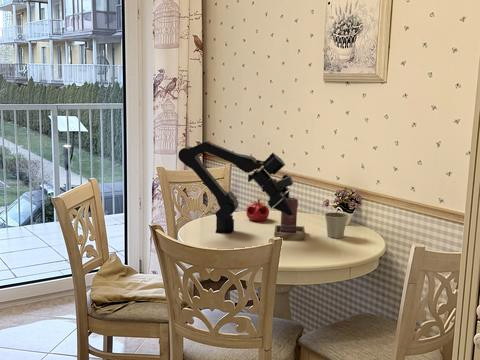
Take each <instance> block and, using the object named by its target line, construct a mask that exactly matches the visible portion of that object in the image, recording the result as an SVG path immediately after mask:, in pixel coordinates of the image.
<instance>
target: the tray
mask: <svg viewBox="0 0 480 360" xmlns="http://www.w3.org/2000/svg"><path fill="white" fill-rule="evenodd" d="M273 237H280V238H283V239H282V240H283V241H285V240H286V241H287V240H288V241H306V238H305V237H306V231H305V226H304V225H303V226H301V225H296V233H281V224H280V225H279V224H278V225H277V224H275V226H274V234H273Z"/></svg>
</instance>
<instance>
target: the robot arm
mask: <svg viewBox="0 0 480 360" xmlns="http://www.w3.org/2000/svg"><path fill="white" fill-rule="evenodd" d="M203 153H208V154H210V155H212V156H215V157H217V158H219V159H221V160H224V161H226V162H229V163H232V165H234V166H236V167H237V168H238V169H240V170H241V171H242V172H245V173H247V178H248V179H247V182H248V183H250V182H251V181H254V182H255V183H256V184H257V185H258V187H260V188H261V191H262V192H263V193H265V194H266V195H267V196H268V197H269V198H268V200H267V201H268V202H267V205H268V206H269V207H270V208H271V209H273V210H277V211H279V212H280V213H281V212H284V213H286V214H288V215H290V216H291V215H292V214H293V213H292V211H291V210H290V208H289V207H288V205H287V204H286V202H285V198H291V197H290V188H289V187H290V186H291V187H292V186H293V185H294V182H293V177H291V175H288V174H284V175H282V177H281V178H280V180H277V179H275V178H273V177H271V175H275V176H276V174H277V173H278V172H279V171H281V170H282V168H284V167H285V166H286V163H285V162H284V160H283V159H282V158H281V157H279V156H278V155H277V154H275V152H272V153H271V154H270V155H269V156H268V157H267V158H266V159H265V160H260V159H257V158H256V157H254V156H252V155H249V154H248V155H247V154H241V153H237V152H234V151H231V150H229V149H227V148H224V147H222V146H220V145H218V144H215V143H214V142H211V141H210V140H204V141H202V142H201V143H200V144H197V145H194V146H186V147H183V148H181V149H180V150H179V152H178V153H177V154H178V156H177V157H178V160H179V161H180V162H181V163H183V164H184V165H185V166H186V167H188V168H190V169H191V170H192V171H193V172H194V173H195V174H196V175H197V176H198V178H199V179H200V180H201V181H202V183H203V184H204V185H205V186H206V187H207V189H208V190H209V191H210V192H211V194H212V195H213V196H214V197H215V200H216V203H217V205H218V206H219V209H218V210H217V211H215V213H214V214H215V217H216V221H215V222H216V224H215V225H216V230H215V233H223V234H225V233H226V234H232V233H233V231H234V230H235V218H234V216H233V213H234V212H235V211H236V210H237V209H238V207H239V202H238V197H237V196H235V195H234V193H233V191H232V190H229V192H228V191H226V189H224V188H223V187H222V185H220V183H219V182H218V180H216V178H215V177H214V176H213V175H212V174H211V172H210V171H209V169H207V168H206V166H205V165H204V164H203V162H202V160H201V157H200V155H201V154H203ZM260 168H261V169H260ZM259 169H260V170H259ZM254 170H255V171H254ZM250 173H252V174H250Z"/></svg>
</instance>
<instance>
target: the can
mask: <svg viewBox="0 0 480 360" xmlns="http://www.w3.org/2000/svg"><path fill="white" fill-rule="evenodd" d="M285 202H286V204H287V205H288V207H289V208H290V210H291V211H292V213H293V214H292V215H291V216H290V215H288V214H286V213H284V212H281V211H280V225H281V233H296V226H297V222H298V221H297V218H298V217H297V215H298V208H299V200H298V198H296V197H290V198H285Z"/></svg>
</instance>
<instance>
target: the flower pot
mask: <svg viewBox="0 0 480 360" xmlns="http://www.w3.org/2000/svg"><path fill="white" fill-rule="evenodd" d="M323 216H324V217H325V221H326V222H325V223H326V235H327V237H329V238H332V239H333V238H335V239H342V238H343V237H344V234H345V230H346V225H347V221H348V218H349V214H347V213H342V212H335V211H333V212H332V211H331V212H325V213H324V215H323Z"/></svg>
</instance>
